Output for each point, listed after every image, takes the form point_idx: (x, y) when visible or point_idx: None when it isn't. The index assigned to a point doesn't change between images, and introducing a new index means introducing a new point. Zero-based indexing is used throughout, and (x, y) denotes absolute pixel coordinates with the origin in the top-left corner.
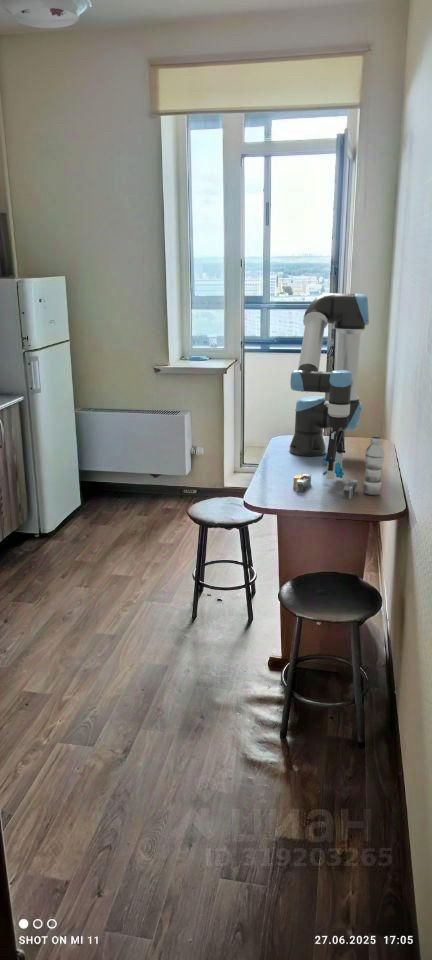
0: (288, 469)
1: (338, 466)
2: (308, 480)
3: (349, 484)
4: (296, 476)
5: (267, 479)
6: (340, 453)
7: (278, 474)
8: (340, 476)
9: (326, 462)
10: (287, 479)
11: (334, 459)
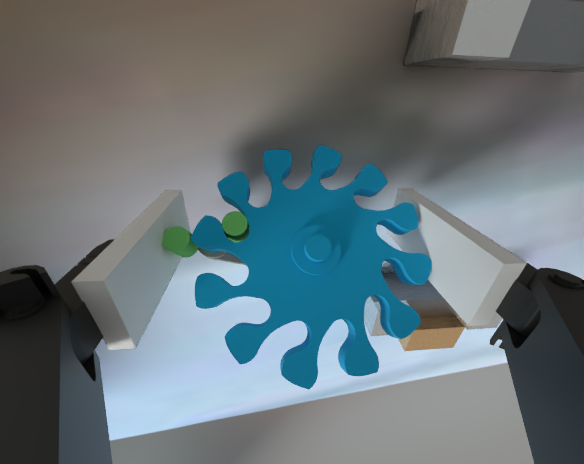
0: (197, 377)
1: (250, 221)
2: (413, 294)
3: (515, 45)
4: (434, 345)
5: (342, 382)
6: (102, 304)
7: (275, 379)
8: (338, 161)
9: (419, 317)
10: (320, 348)
11: (578, 291)
